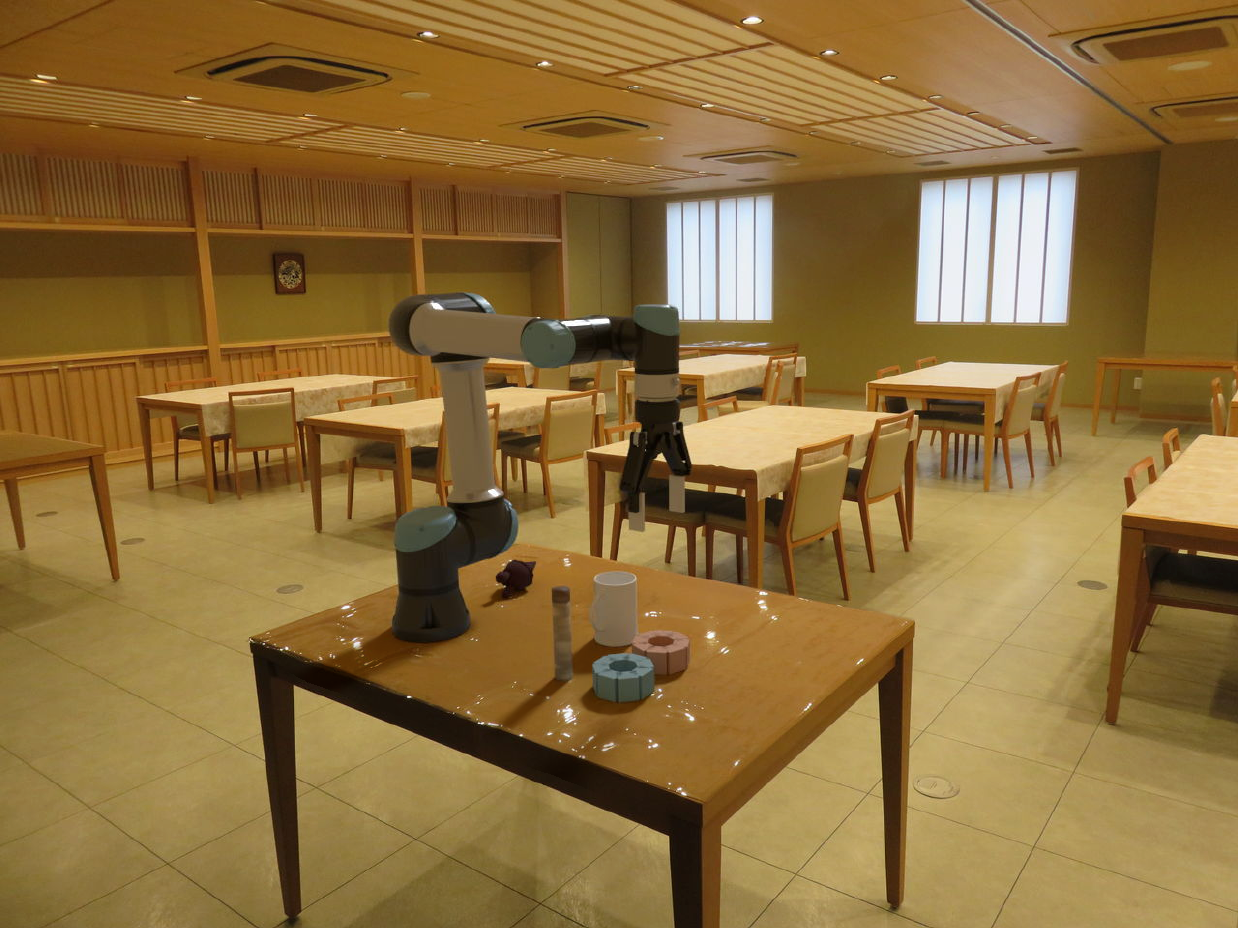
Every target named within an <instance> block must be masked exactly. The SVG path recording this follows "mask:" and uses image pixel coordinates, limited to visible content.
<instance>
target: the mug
mask: <svg viewBox="0 0 1238 928" xmlns="http://www.w3.org/2000/svg"><path fill="white" fill-rule="evenodd" d="M637 580H638V579H637V576H636V575H635V574H633V573H631V572H626V571H616V570H615V571H606V572H601V573H598V574H597V575H595V576H594V577H593V599H592V602H591V604H590V608H589V623H590V625H591V627H592V628H593V629H594V635H593V639H594V641H595V643H597V644H599V645H601V646H605V647H613V648H619V647H626V646H630V645H632V642H633V640H634V638H635V636H637V635H638V634H639V628H638V591H637V590H638V588H637V586H638V585H637V583H638V581H637Z"/></svg>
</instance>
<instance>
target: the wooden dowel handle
mask: <svg viewBox="0 0 1238 928" xmlns="http://www.w3.org/2000/svg"><path fill="white" fill-rule="evenodd" d="M570 589H571V588H570V587H569V586H567V585H566V586H565V585H558V586H553V587H551V601H552V604H551V605H552V606H551V607H552V627H553V628H552V631H553V632H552V633H553V655H554V656H553V657H554V659H553V661H554V679H555V681H558V682H567V681H571V680H572V679H574V678H573V653H572V651H573V650H572V647H573V646H572V621H571V620H572V619H571V593H570V592H571V590H570Z"/></svg>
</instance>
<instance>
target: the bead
mask: <svg viewBox="0 0 1238 928" xmlns="http://www.w3.org/2000/svg"><path fill="white" fill-rule="evenodd" d="M591 667H592V668H591V669H592V670H591V672H592V689H593V690H594V693H595V697H596V696H597V697H598V699H599V698H600V699H603V700H606V701H610V702H613V703H617V702H618V703H627V702H635V701H637V702H638V701H640V699H641V700H643V699H645V698H646V697H648V696H649V695H650V694H652V693H653V692H655V674H654V666H653V664H652V662H651V661H650V659H647V657H644V656H640V655H636V654H632V652H630V653H628V652H622V653H616V654H613V653H611V654H607V655H603V656H601V658H599V659H597V660H596V661H594V662H592V664H591Z"/></svg>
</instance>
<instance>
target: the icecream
mask: <svg viewBox="0 0 1238 928" xmlns="http://www.w3.org/2000/svg"><path fill="white" fill-rule="evenodd" d="M536 564H537V561H535V560H531V561H523V560H518V559H516V558H515V559H512V560H511V561H509V562H508V563H506V566H505V567H504V569H503V570H502V571H499V572H498V573H497V574H496V575H495V581H496V582H497V583H499V584H501V585H502V586H503V587H504V588H503V589H502V591H501V598H502V599H503V600H506V599H508V598H509V597H511V596H512V594H513V592H514V591H516V592H517V591H522V590H524V589H525V588H528V587H531V585H532V584H533V578H534V573H533V572H534V570H535V567H536Z"/></svg>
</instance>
